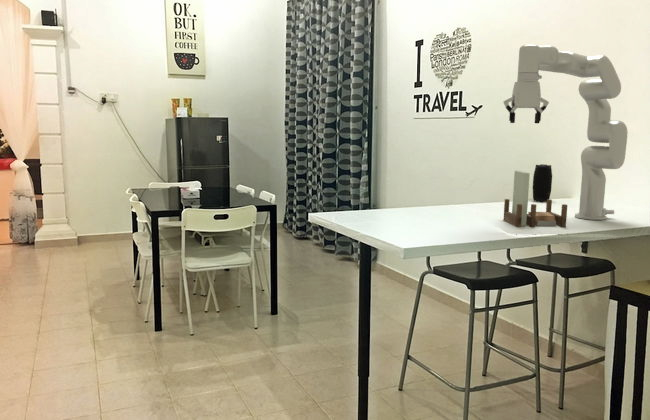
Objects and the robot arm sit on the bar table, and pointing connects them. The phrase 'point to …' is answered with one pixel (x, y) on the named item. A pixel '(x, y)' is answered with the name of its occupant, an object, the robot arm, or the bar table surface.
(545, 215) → the offcut
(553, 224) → the offcut
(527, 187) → the sheet
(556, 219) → the rack
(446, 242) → the bar table surface
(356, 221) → the bar table surface
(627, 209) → the bar table surface
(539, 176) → the portable speaker
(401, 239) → the bar table surface
